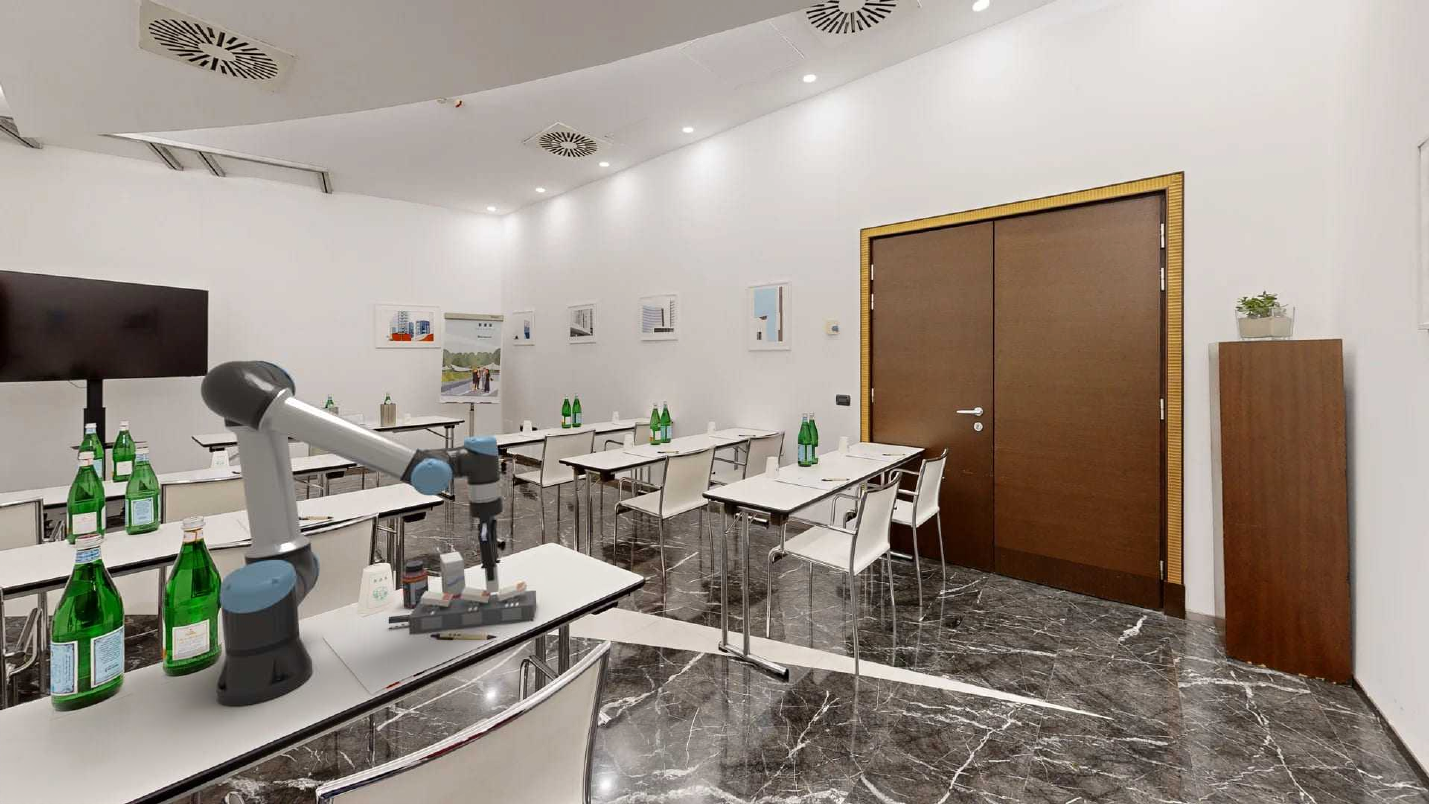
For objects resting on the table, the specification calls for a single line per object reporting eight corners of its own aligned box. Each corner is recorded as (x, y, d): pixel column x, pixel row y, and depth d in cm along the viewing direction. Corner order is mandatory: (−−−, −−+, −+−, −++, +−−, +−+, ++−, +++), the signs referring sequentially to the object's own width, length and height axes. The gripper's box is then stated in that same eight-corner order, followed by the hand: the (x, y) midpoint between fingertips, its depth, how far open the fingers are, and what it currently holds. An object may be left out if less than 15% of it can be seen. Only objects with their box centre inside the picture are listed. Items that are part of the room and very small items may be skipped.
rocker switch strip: (383, 637, 133) (382, 616, 133) (395, 619, 142) (394, 600, 142) (533, 620, 140) (532, 601, 140) (536, 605, 149) (535, 586, 149)
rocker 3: (499, 602, 141) (497, 595, 141) (502, 596, 145) (499, 589, 145) (525, 594, 142) (523, 587, 142) (527, 587, 146) (525, 580, 146)
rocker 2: (459, 600, 139) (461, 592, 139) (463, 593, 143) (465, 586, 143) (486, 604, 140) (488, 597, 140) (489, 597, 144) (491, 590, 144)
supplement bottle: (401, 604, 151) (398, 562, 150) (425, 597, 155) (423, 557, 154) (407, 611, 147) (404, 568, 146) (432, 604, 150) (429, 563, 150)
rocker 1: (419, 604, 137) (421, 597, 137) (424, 597, 141) (425, 590, 141) (447, 608, 138) (449, 600, 138) (451, 601, 142) (453, 593, 142)
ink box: (467, 602, 151) (465, 559, 151) (446, 607, 149) (444, 563, 148) (461, 591, 159) (459, 550, 158) (441, 596, 156) (439, 554, 155)
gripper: (497, 503, 135) (505, 600, 137) (505, 491, 147) (511, 579, 150) (463, 507, 133) (471, 604, 135) (474, 493, 146) (481, 583, 148)
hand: (492, 591), depth 142 cm, fingers closed
